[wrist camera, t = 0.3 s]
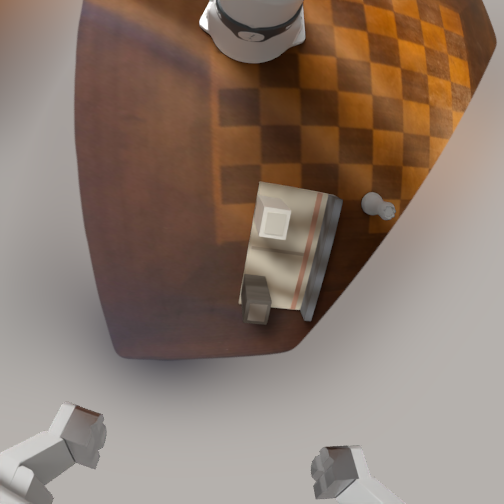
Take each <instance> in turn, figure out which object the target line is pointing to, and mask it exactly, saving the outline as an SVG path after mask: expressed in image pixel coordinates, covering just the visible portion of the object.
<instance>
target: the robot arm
mask: <svg viewBox="0 0 504 504" xmlns="http://www.w3.org/2000/svg"><path fill="white" fill-rule="evenodd" d="M303 1H304V0H210V2H209V3H208V5H207V7H206V9H205V11H204V13H203V15H202V17H201V19H200V21H199V25H200V27H201V28H202V29H203V30H204V31H206V32H207V33H208V34H210V35H211V37H212V39H213V41H214V43H215V44H216V46H217V47H218V48H219V50H220V51H221V52H223V53H224V54H225V55H227V56H228V57H230V58H232V59H234V60H237V61H240V62H245V63H262V62H267V61H270V60H272V59H274V58H276V57H278V56H280V55H281V54H282V53H283V52H285V51H286V50H287V49H288V48H290V47H292V46H296V45H299V44H301V43H303V42H304V40H305V25H304V12H303ZM299 32H300V33H299ZM103 421H104V417H103V414H100V413H97V412H94V411H91V410H88V409H85V408H83V407H80V406H78V405H75V404H72V403H70V402H67V401H65V402H64V403H63V404H62V406H61V407H60V409H59V411H58V413H57V415H56V417H55V419H54V421H53V422H52V424H51V427H50V428H49V430H48V432H47V431H43V432H41V433H39V434H37V435H35V436H33V437H31V438H29V439H27V440H25V441H23V442H21V443H19V444H17V445H15V446H13V447H11V448H8V449H6V450H4V451H2V452H1V453H0V504H52V501H53V496H52V494H51V493H50V492H49V491H48V490H47V488H46V487H45V486H44V485H46V484H47V483H49V482H50V481H52V480H53V479H54V478H56V477H57V476H59V475H60V474H61V473H63V472H64V471H65V470H67V469H68V468H70V467H71V466H73V465H74V464H75V463H79V464H81V465H84V466H87V467H90V468H93V469H96V466H97V463H98V461H99V457H100V455H99V452H98V450H99V449H101V448H103V446H104V443H105V439H106V426H105V425H104V424H103ZM311 474H312V478H314V480H316V483H315V484H314V486H313V487H314V492H315V497H316V499H327V498H335V500H336V501H337V502H338V503H339V504H406V503H405V502H404V501H403V500H401V499H400V498H399V497H398V496H396V495H395V494H394V493H393V492H391V491H390V490H389V489H388V488H387V487H385V486H384V485H383V484H382V483H381V482H379V481H378V480H377V479H376V478H375V477H371V475H370V472H369V469H368V466H367V463H366V459H365V457H364V453H363V450H362V448H361V446H359V445H353V446H333V447H323V448H322V449H321V450H320V455H318V456H316V457H315V458H314V460H313V461H312V465H311Z"/></svg>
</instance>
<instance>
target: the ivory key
mask: <svg viewBox="0 0 504 504" xmlns="http://www.w3.org/2000/svg"><path fill="white" fill-rule="evenodd" d="M290 215H291V210H290V209H289V208H288V206H287V205H286V204H285V203H284V202H283V201H282V200H281V199H280V198H274V197H268V196H262V195H258V198H257V204H256V210H255V215H254V222H255V225H256V229H257V232H258V235H259V236H260V237H267V238H274V239H281V240H286V235H287V230H288V225H289V220H290Z"/></svg>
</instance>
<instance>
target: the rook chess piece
mask: <svg viewBox="0 0 504 504" xmlns="http://www.w3.org/2000/svg"><path fill="white" fill-rule="evenodd" d="M361 204H362V209H363V211H364V212H365V213H367V214H369V215H377V214H378V215H379V216H381V218H382V219H383V220H390V219H391V218H392V217H393V218H394V216H395V215H394V213H396V210H395V207H394V205H393V204H392V203H390V202H383V199H382V197H381V196H380V195H378V194H377V193H374V192H370V193H367V194H366V195H365V196H364V197H363V199H362V203H361Z"/></svg>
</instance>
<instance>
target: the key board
mask: <svg viewBox="0 0 504 504" xmlns="http://www.w3.org/2000/svg"><path fill="white" fill-rule="evenodd" d="M258 195H262V196H268V197H274V198H280V199H281V200H282V201H283V202H284V203H285V204H286V205H287V206H288V208H289V209H290V210H291V215H290V220H289V225H288V230H287V235H286V240H281V239H274V238H267V237H260V236H259V235H258V232H257V229H256V225H255V222H254V216H253V222H252V228H251V233H250V239H249V245H248V251H247V257H246V262H245V268H244V274H250V275H258V276H265V277H266V281H267V285H268V289H269V292H270V296H271V300H272V304H271V307H273V308H284V309H291V310H300V311H301V314H302V316H303V319H304V321H311V319H312V316H313V313H314V309H315V306H316V303H317V299H318V296H319V292H320V289H321V285H322V282H323V278H324V274H325V271H326V267H327V263H328V260H329V256H330V252H331V248H332V244H333V240H334V236H335V232H336V228H337V224H338V220H339V216H340V211H341V207H342V203H343V200H342V199H340V198H338V197H337V196H335V195H332V194H327V193H322V192H317V191H312V190H306V189H301V188H296V187H290V186H284V185H279V184H273V183H267V182H261V181H260V182H259V187H258V193H257V198H258ZM256 204H257V199H256ZM255 210H256V205H255ZM255 210H254V215H255ZM244 274H243V279H244ZM242 284H243V280H242ZM241 290H242V286H241ZM239 304H241V291H240V297H239Z"/></svg>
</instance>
